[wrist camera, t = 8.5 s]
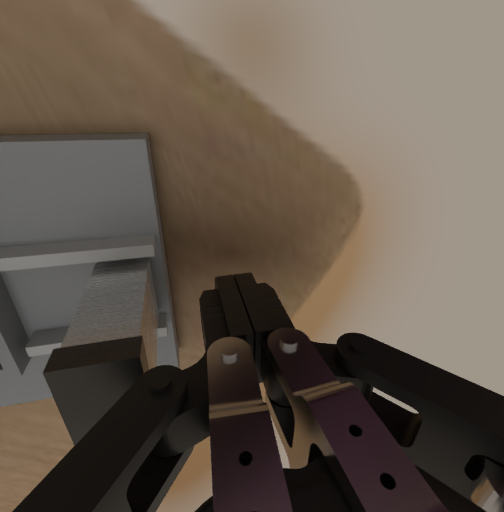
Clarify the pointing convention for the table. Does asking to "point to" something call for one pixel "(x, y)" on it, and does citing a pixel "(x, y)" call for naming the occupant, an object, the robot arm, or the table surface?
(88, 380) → the paddle switch
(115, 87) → the table surface
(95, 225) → the panel
